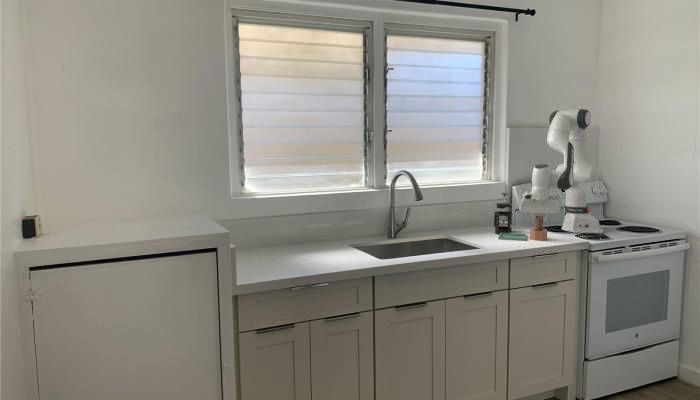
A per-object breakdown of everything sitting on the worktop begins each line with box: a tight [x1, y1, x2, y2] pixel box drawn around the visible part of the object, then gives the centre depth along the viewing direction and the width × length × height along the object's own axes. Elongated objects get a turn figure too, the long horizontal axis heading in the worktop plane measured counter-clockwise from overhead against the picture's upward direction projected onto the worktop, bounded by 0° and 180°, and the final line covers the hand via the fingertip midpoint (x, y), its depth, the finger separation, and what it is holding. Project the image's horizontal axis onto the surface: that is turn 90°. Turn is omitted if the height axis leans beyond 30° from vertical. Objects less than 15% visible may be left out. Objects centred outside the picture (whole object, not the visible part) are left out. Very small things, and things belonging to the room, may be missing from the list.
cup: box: [529, 227, 548, 242], centre depth 281 cm, size 8×8×6 cm
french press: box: [493, 192, 513, 235], centre depth 302 cm, size 12×9×23 cm
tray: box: [497, 232, 528, 242], centre depth 286 cm, size 14×14×2 cm
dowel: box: [534, 215, 544, 231], centre depth 281 cm, size 4×4×11 cm
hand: (539, 221), depth 281 cm, fingers closed on dowel, 4 cm apart
